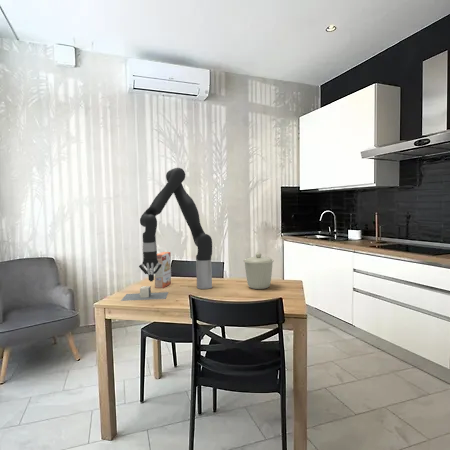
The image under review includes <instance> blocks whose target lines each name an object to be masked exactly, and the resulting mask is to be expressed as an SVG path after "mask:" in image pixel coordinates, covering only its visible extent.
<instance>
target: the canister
mask: <svg viewBox="0 0 450 450" xmlns="http://www.w3.org/2000/svg"><path fill="white" fill-rule="evenodd" d="M243 262H244V268H245V276H246V282H247V286H248V287H249V288H251V289H254V290H263V289H264V290H266V289H269V288H270V286H271V281H272V275H273V274H272V273H273V263H274V259H272V258H271V257H267V256H262V253H261V252H256V253H255V256H250V257H247V258H245V259H244V260H243Z"/></svg>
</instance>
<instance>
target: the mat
mask: <svg viewBox="0 0 450 450" xmlns="http://www.w3.org/2000/svg"><path fill="white" fill-rule="evenodd" d="M168 295H169V291H168V292H167V291H164V292H163V291H162V292H151V295H150V297H144V298H140V292H137V293H126V294H125V295H124V296H123V297H122V299H121V300H120V301H121V302H123V301H125V302H126V301H127V302H128V301H144V300H145V301H146V300H148V301H149V300H151V301H152V300H166V299H167V297H168Z"/></svg>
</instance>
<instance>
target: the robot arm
mask: <svg viewBox="0 0 450 450" xmlns="http://www.w3.org/2000/svg"><path fill="white" fill-rule="evenodd" d="M185 178H186V173H185V170H184V169H183V168H181V167H174V168H171V169H170V170H168V171H167V172H166V174H165V179H166V181H167V183H166V184H165V185H164V187H163V188H162V189H161V190H160V191H159V193H157V195H156V196H155V198H154V199H153V201H152V202H151V204H150V205H149V207H148V208H147V209H146V210H145V211H144V212H143V213H142V215H141V216H140V218H139V223H140V225H141V226H142V227H143V228H145V230H144V232H143V233H142V259H143V260H142V263H141V264H140V265H139V266H138V268H139V269H140V270H141V271H142V272H143V274H145V275H147V276H148V281H149V282H154V281H155V273H157V271H158V270H159V269H160V267H161V266H162V264H160V263H159V262H158V260H157V254H158V252H157V251H158V250H157V240H156V238H157V237H156V233H157V228H158V220H157V216H158V215H160V214H161V213H162V212H163V210H164V208H165V207H166V205H167V203H168V202H169V199H171V197H172V195H174V197H175V199H176V202H177V204H178V205H179V210H180V211H181V213H182V216H183V217H184V220H185V222H186V224H187V226H188V228H189V230H190V233H191V236H192V239H193V243H194V245H195V246H196V248H197V254H196V256H195V265H196V266H195V267H196V288H197V289H199V290H209V289H213V275H212V273H213V272H212V255H213V239H212V237H211V235H209V234H207V233H205V231H204V228H203V227H202V224H201V219H200V214H199V213H200V212H199V210H198V207H197V205H196V204H195V201H194V200H193V198H192V197H191V196H190V195H189V194H188V193H187V191H186V189H185V188H184V185H183V182H184V181H185ZM157 264H158V265H157ZM156 265H157V267H158V268H157V269H156V270H155V266H156Z"/></svg>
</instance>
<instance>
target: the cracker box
mask: <svg viewBox="0 0 450 450" xmlns="http://www.w3.org/2000/svg"><path fill="white" fill-rule="evenodd" d="M171 256H172V255H171V251H170V252H169V251H162V252H159V253H158V252H157V260H158V262H159V263H160V264H162V266H161V267H160V269H159V270H158V271H157V273H155V274H154V288H155V289H164V288H166V287H167V286H168V285H169V286H170V285H171V284H172V271H171V270H172V267H171V265H172V263H171V260H172V259H171ZM157 265H158V264H157ZM157 265H156V266H155V268H154V271H155V270H156V269H157V268H158V267H157Z"/></svg>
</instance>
